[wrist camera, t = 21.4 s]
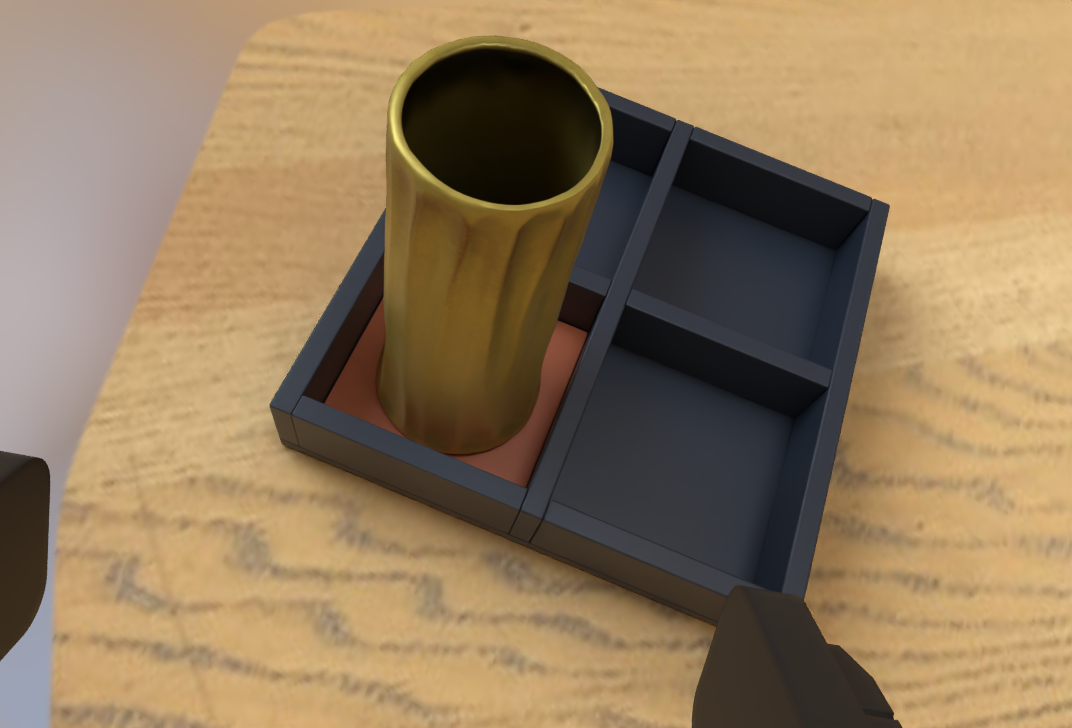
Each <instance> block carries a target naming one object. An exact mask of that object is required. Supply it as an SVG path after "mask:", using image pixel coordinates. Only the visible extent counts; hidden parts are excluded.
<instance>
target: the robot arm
mask: <svg viewBox="0 0 1072 728" xmlns="http://www.w3.org/2000/svg"><path fill="white" fill-rule="evenodd" d="M49 503H50V473H49V468H48V465H47V464H46V462H45V461H44V460H43V459H41V458H37V457H31V456H26V455H20V454H15V453H9V452H4V451H0V661H1V660H2V659H3V657H4V656H5V655H6V654H7V653H8V652H9V650H11V649H12V647H13V646H14V645H15V644H16V643H17V642H18V641H19V640H20V638H21V637H22V636H23V635H24V634H25V632H26V631H27V630H28V628H29V627H30V625H31V623H32V622H33V620H34V618H35V616H36V614H37V612H38V609H39V607H40V604H41V601H42V598H43V595H44V591H45V586H46V579H47V559H48V531H49ZM893 715H894V713H893V711H892V709H891V707H890V706H889V704H888V702H887V701H886V699H885V697H884V695H883V694H882V692H881V690H880V689H879V687H878V685H877V684H876V682H875V680H874V678H873V677H872V676H871V675H869V674H868V673H867V672H866V671H865V670H864V669H863V668H862V667H861V666H860V665H859V664H858V663H857V662H856V661H855V660H854V659H853V658H852V657H851V656H850V655H848V654H847V653H846V652H845V651H844V650H843V649H842V648H841V647H840V646H838V645H833V644H827V643H826V641H825V639H824V637H823V635H822V633H821V632H820V630H819V628H818V626H817V624H816V622H815V620H814V619H813V617H812V615H811V613H810V611H809V609H808V608H807V606H806V604H805V602H804V601H803V599H802V598H801V597H799V596H797V595H792V594H786V593H781V592H775V591H769V590H764V589H758V588H753V587H747V586H741V585H737V586H735V587H734V588H733V589H732V590H731V591H730V593H729V595H728V597H727V599H726V601H725V604H724V607H723V610H722V613H721V616H720V619H719V622H718V625H717V628H716V631H715V634H714V637H713V640H712V643H711V646H710V649H709V652H708V656H707V659H706V662H705V665H704V668H703V671H702V674H701V677H700V680H699V683H698V686H697V689H696V693H695V697H694V703H693V712H692V728H902V726H901V724H900V723H899V721H898V720H894V718H893Z"/></svg>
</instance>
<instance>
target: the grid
mask: <svg viewBox="0 0 1072 728" xmlns="http://www.w3.org/2000/svg"><path fill="white" fill-rule="evenodd" d="M597 88H598V87H597ZM598 89H599V90H600V92H601V93H602V95H603V96H604V98H605V100H606V101H607V103H608V105H609V108H610V111H611V116H612V123H613V148H612V155H611V159H610V163H609V166H608V169H607V172H606V175H605V178H604V181H603V184H602V187H601V190H600V194H599V197H598V199H597V202H596V205H595V207H594V210H593V213H592V216H591V219H590V222H589V225H588V228H587V231H586V234H585V237H584V240H583V243H582V246H581V248H580V251H579V253H578V256H577V258H576V261H575V263H574V266H573V269H572V272H571V276H570V280H569V283H568V287H567V290H566V293H565V297H564V300H563V303H562V306H561V310H560V313H559V317H558V320H557V323H556V326H555V329H554V332H553V335H552V337H551V340H550V343H549V345H548V348H547V351H546V354H545V357H544V361H543V365H542V368H541V376H540V377H541V384H540V391H539V395H538V399H537V402H536V405H535V408H534V410H533V412H532V415H531V417H530V419H529V420H528V422H527V423H526V425H525V426H524V427H523V428H522V429H521V430H520V431H519V432H517V433H516V434H515V435H514V436H513V437H512V438H510V439H509V440H508V441H506V442H504V443H502V444H501V445H499V446H497V447H494V448H492V449H489V450H486V451H483V452H478V453H472V454H447V453H442V452H438V451H436V450H434V449H431V448H429V447H426V446H424V445H422V444H419V443H417V442H414V441H412V440H411V439H409V438H408V437H406V436H405V435H404V434H403V433H402V432H401V431H400V430H399V429H398V428H397V427H396V426H395V425H394V424H393V423H392V421H391V420H390V418H389V417H388V416H387V414H386V412H385V411H384V409H383V407H382V404H381V402H380V399H379V396H378V393H377V386H376V375H377V366H378V361H379V357H380V353H381V350H382V347H383V344H384V342H385V339H386V327H385V319H384V255H385V216H386V208H385V210H384V212H383V214H382V215H381V217H380V219H379V220H378V222H377V224H376V225H375V227H374V229H373V230H372V232H371V234H370V236H369V237H368V239H367V241H366V242H365V244H364V246H363V247H362V249H361V251H360V252H359V254H358V256H357V257H356V259H355V261H354V263H353V264H352V266H351V268H350V269H349V271H348V273H347V274H346V276H345V278H344V279H343V281H342V283H341V285H340V286H339V288H338V290H337V291H336V293H335V295H334V296H333V298H332V300H331V301H330V303H329V305H328V307H327V308H326V310H325V312H324V313H323V315H322V317H321V318H320V320H319V322H318V323H317V325H316V327H315V328H314V330H313V332H312V334H311V335H310V337H309V339H308V340H307V342H306V344H305V345H304V347H303V349H302V350H301V352H300V354H299V356H298V357H297V359H296V361H295V362H294V364H293V366H292V367H291V369H290V371H289V372H288V374H287V376H286V378H285V379H284V381H283V383H282V384H281V386H280V388H279V389H278V391H277V393H276V394H275V396H274V398H273V399H272V401H271V403H270V405H269V406H270V409H271V412H272V415H273V418H274V421H275V425H276V428H277V431H278V434H279V437H280V439H281V442H282V444H283V445H286V446H288V447H290V448H293V449H295V450H297V451H300V452H302V453H305V454H307V455H309V456H312V457H314V458H317V459H319V460H321V461H324V462H326V463H328V464H331V465H333V466H336V467H338V468H340V469H343V470H345V471H347V472H350V473H352V474H355V475H357V476H359V477H362V478H364V479H367V480H369V481H371V482H374V483H376V484H378V485H381V486H383V487H386V488H388V489H390V490H393V491H395V492H397V493H400V494H402V495H405V496H407V497H409V498H412V499H414V500H417V501H419V502H421V503H424V504H426V505H428V506H431V507H433V508H436V509H438V510H440V511H443V512H445V513H447V514H450V515H452V516H455V517H457V518H459V519H462V520H464V521H467V522H469V523H471V524H474V525H476V526H478V527H481V528H483V529H486V530H488V531H490V532H493V533H495V534H497V535H500V536H502V537H505V538H507V539H509V540H512V541H514V542H517V543H519V544H521V545H524V546H526V547H528V548H531V549H533V550H536V551H538V552H540V553H543V554H545V555H547V556H550V557H552V558H555V559H557V560H559V561H562V562H564V563H567V564H569V565H571V566H574V567H576V568H578V569H581V570H583V571H586V572H588V573H590V574H593V575H595V576H597V577H600V578H602V579H605V580H607V581H609V582H612V583H614V584H617V585H619V586H621V587H624V588H626V589H628V590H631V591H633V592H636V593H638V594H640V595H643V596H645V597H647V598H650V599H652V600H655V601H657V602H659V603H662V604H664V605H667V606H669V607H671V608H674V609H676V610H678V611H681V612H683V613H686V614H688V615H690V616H693V617H695V618H697V619H700V620H702V621H705V622H707V623H709V624H712V625H714V626H717V625H718V622H719V619H720V616H721V613H722V610H723V607H724V604H725V601H726V599H727V597H728V595H729V593H730V591H731V590H732V589H733V588H734V587H735V586H737V585H741V586H747V587H753V588H758V589H764V590H769V591H775V592H781V593H786V594H792V595H797V596H799V597H801V598H802V599H803V601H804V598H805V593H806V589H807V584H808V579H809V575H810V570H811V566H812V561H813V556H814V552H815V547H816V543H817V538H818V534H819V529H820V524H821V520H822V515H823V511H824V506H825V501H826V497H827V492H828V488H829V483H830V478H831V474H832V469H833V465H834V460H835V456H836V451H837V446H838V442H839V437H840V433H841V428H842V423H843V419H844V414H845V410H846V405H847V400H848V396H849V391H850V387H851V382H852V378H853V373H854V368H855V364H856V359H857V355H858V350H859V345H860V341H861V336H862V332H863V327H864V322H865V318H866V313H867V309H868V304H869V300H870V295H871V290H872V286H873V281H874V277H875V272H876V267H877V263H878V258H879V254H880V249H881V244H882V240H883V235H884V231H885V226H886V221H887V217H888V212H889V208H890V205H889V204H886V203H884V202H881V201H879V200H876V199H872V198H871V197H869V196H867V195H864V194H862V193H859V192H857V191H854V190H852V189H849V188H847V187H845V186H842V185H840V184H837V183H835V182H832V181H830V180H827V179H825V178H822V177H820V176H817V175H815V174H812V173H810V172H807V171H805V170H802V169H800V168H797V167H795V166H792V165H790V164H787V163H785V162H782V161H780V160H777V159H775V158H772V157H770V156H767V155H765V154H763V153H760V152H758V151H755V150H753V149H750V148H748V147H745V146H743V145H740V144H738V143H735V142H733V141H730V140H728V139H725V138H723V137H720V136H718V135H715V134H713V133H710V132H708V131H705V130H703V129H700V128H698V127H695V128H694V126H693V125H690V124H688V123H685V122H683V121H680V120H677V121H676V119H675V118H673V117H670V116H668V115H665V114H663V113H660V112H658V111H655V110H653V109H651V108H648V107H646V106H643V105H641V104H638V103H636V102H633V101H631V100H628V99H626V98H623V97H621V96H618V95H616V94H613V93H611V92H608V91H606V90H603V89H601V88H598Z"/></svg>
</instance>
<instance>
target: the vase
mask: <svg viewBox="0 0 1072 728" xmlns="http://www.w3.org/2000/svg"><path fill="white" fill-rule="evenodd" d="M612 148H613V123H612V116H611V111H610V108H609V105H608V103H607V101H606V100H605V98H604V96H603V95H602V93H601V92H600V90H599V89H598V88H597V86H596V85H595V84H594V82H593V81H592V79H591V78H590V77H589V76H588V75H587V74H586V72H585V71H584V70H583V69H582V68H581V67H580V66H578V65H577V64H576V63H574V62H573V61H572V60H570V59H568V58H567V57H565V56H564V55H562V54H560V53H558V52H556V51H554V50H552V49H550V48H548V47H546V46H543V45H540V44H538V43H535V42H531V41H527V40H523V39H517V38H510V37H503V36H476V37H469V38H464V39H459V40H456V41H453V42H450V43H446V44H444V45H441V46H439V47H436V48H434V49H431V50H430V51H428V52H427V53H425V54H424V55H422V56H421V57H419V58H418V59H416V60H415V61H414V62H412V63H411V64H410V65H409V67H408V68H407V69H406V70H405V71H404V73H403V74H402V75H401V77H400V78H399V80H398V81H397V83H396V85H395V86H394V88H393V91H392V94H391V96H390V100H389V106H388V112H387V134H386V181H387V197H386V216H385V255H384V319H385V327H386V339H385V342H384V344H383V347H382V350H381V353H380V357H379V361H378V366H377V375H376V386H377V393H378V396H379V399H380V402H381V404H382V407H383V409H384V411H385V412H386V414H387V416H388V417H389V418H390V420H391V421H392V423H393V424H394V425H395V426H396V427H397V428H398V429H399V430H400V431H401V432H402V433H403V434H404V435H405V436H406V437H408V438H409V439H411V440H412V441H414V442H417V443H419V444H422V445H424V446H426V447H429V448H431V449H434V450H436V451H438V452H442V453H447V454H472V453H478V452H483V451H486V450H489V449H492V448H494V447H497V446H499V445H501V444H502V443H504V442H506V441H508V440H509V439H510V438H512V437H513V436H514V435H515V434H516V433H517V432H519V431H520V430H521V429H522V428H523V427H524V426H525V425H526V423H527V422H528V420H529V419H530V417H531V415H532V412H533V410H534V408H535V405H536V402H537V399H538V395H539V391H540V384H541V377H540V376H541V368H542V365H543V361H544V357H545V354H546V351H547V348H548V345H549V343H550V340H551V337H552V335H553V332H554V329H555V326H556V323H557V320H558V317H559V313H560V310H561V306H562V303H563V300H564V297H565V293H566V290H567V287H568V283H569V280H570V276H571V272H572V269H573V266H574V263H575V261H576V258H577V256H578V253H579V251H580V248H581V246H582V243H583V240H584V237H585V234H586V231H587V228H588V225H589V222H590V219H591V216H592V213H593V210H594V207H595V205H596V202H597V199H598V197H599V194H600V190H601V187H602V184H603V181H604V178H605V175H606V172H607V169H608V166H609V163H610V159H611V155H612Z"/></svg>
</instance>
